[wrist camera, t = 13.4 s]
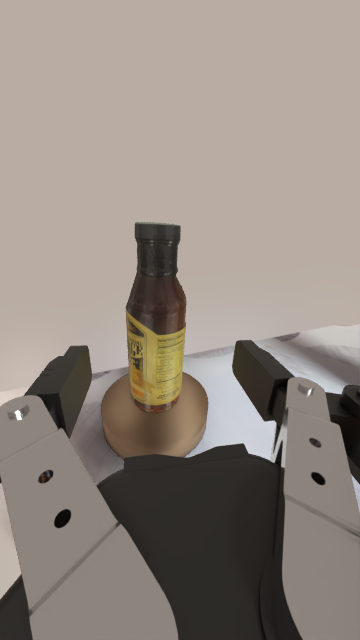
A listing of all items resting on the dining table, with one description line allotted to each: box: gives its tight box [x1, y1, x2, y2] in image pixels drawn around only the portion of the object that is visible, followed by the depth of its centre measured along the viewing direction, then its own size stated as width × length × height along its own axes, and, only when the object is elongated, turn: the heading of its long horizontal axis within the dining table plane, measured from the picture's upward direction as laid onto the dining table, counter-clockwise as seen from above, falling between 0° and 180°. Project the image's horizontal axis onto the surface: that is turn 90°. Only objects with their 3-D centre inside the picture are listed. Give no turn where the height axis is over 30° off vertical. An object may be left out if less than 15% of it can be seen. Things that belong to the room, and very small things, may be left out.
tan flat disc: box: [101, 372, 208, 459], centre depth 26 cm, size 13×13×3 cm
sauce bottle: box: [126, 222, 186, 413], centre depth 22 cm, size 7×6×20 cm
